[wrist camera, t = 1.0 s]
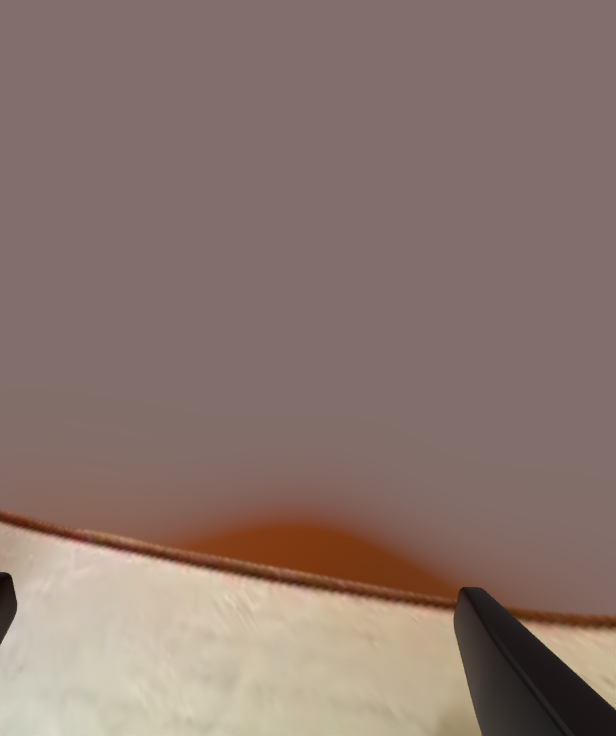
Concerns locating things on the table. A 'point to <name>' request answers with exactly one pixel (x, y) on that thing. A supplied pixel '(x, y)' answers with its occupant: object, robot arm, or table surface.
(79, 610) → the table surface
